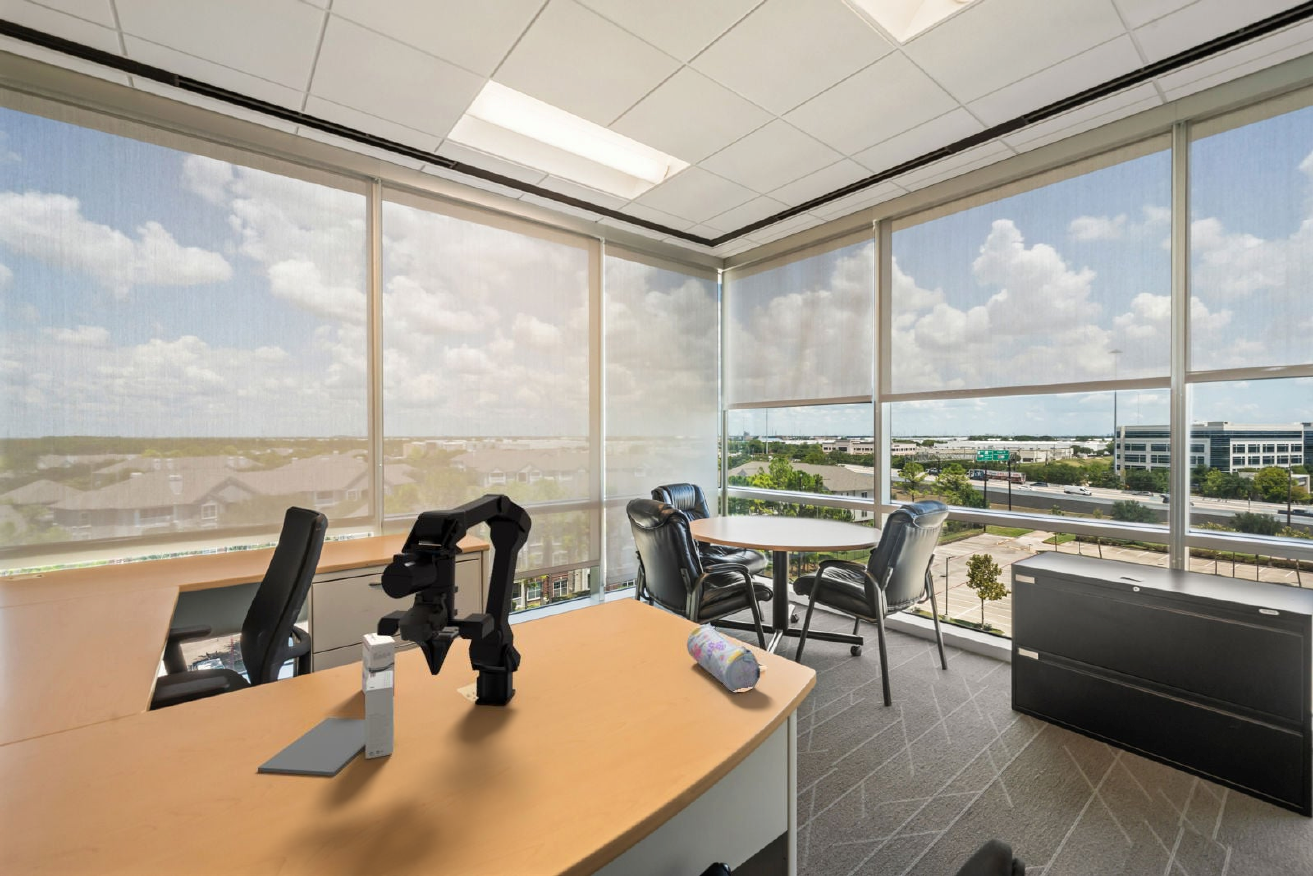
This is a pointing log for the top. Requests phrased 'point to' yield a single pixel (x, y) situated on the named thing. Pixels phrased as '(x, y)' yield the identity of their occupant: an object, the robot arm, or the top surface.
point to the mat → (321, 749)
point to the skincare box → (379, 714)
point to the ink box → (377, 656)
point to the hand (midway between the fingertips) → (435, 674)
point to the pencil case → (723, 658)
